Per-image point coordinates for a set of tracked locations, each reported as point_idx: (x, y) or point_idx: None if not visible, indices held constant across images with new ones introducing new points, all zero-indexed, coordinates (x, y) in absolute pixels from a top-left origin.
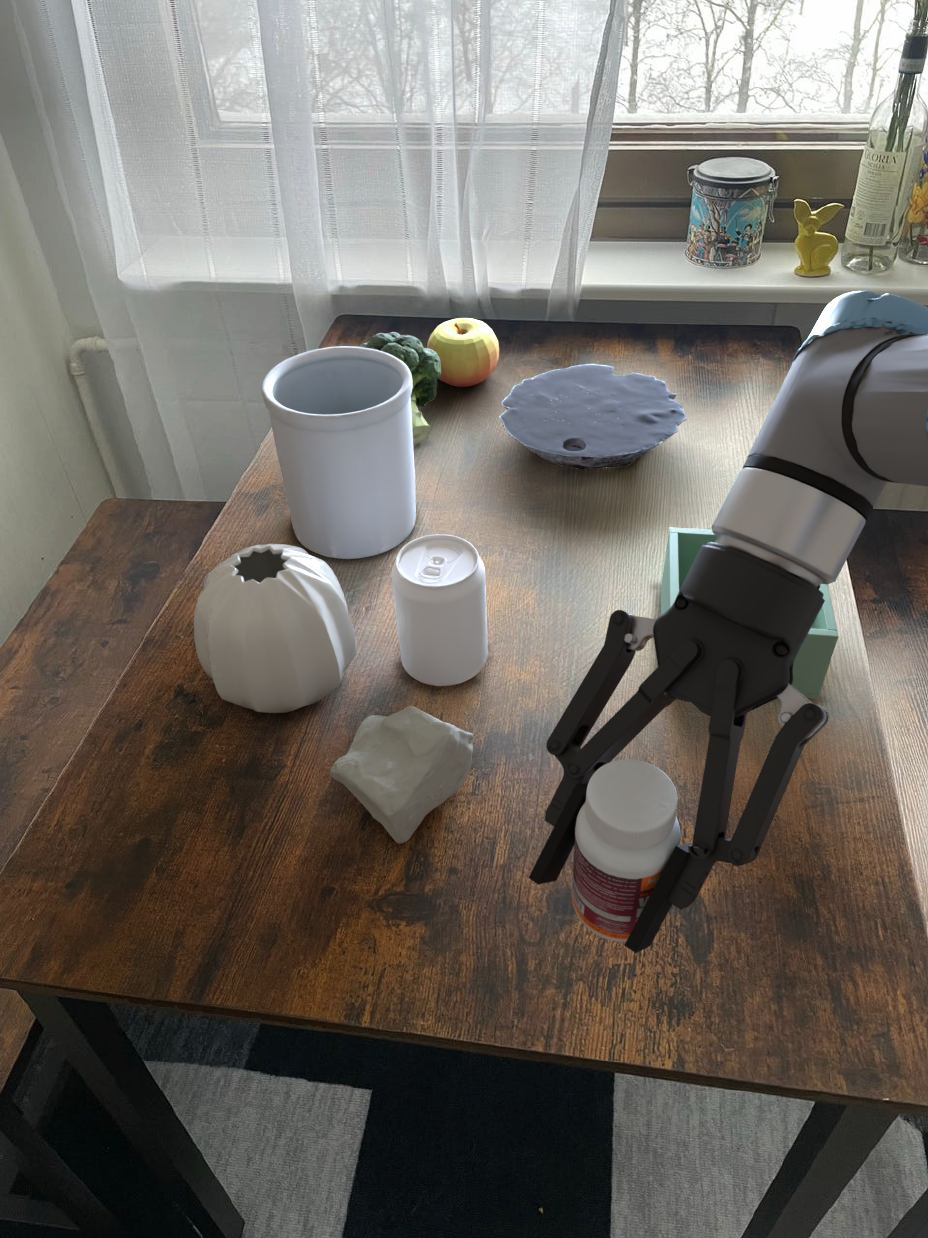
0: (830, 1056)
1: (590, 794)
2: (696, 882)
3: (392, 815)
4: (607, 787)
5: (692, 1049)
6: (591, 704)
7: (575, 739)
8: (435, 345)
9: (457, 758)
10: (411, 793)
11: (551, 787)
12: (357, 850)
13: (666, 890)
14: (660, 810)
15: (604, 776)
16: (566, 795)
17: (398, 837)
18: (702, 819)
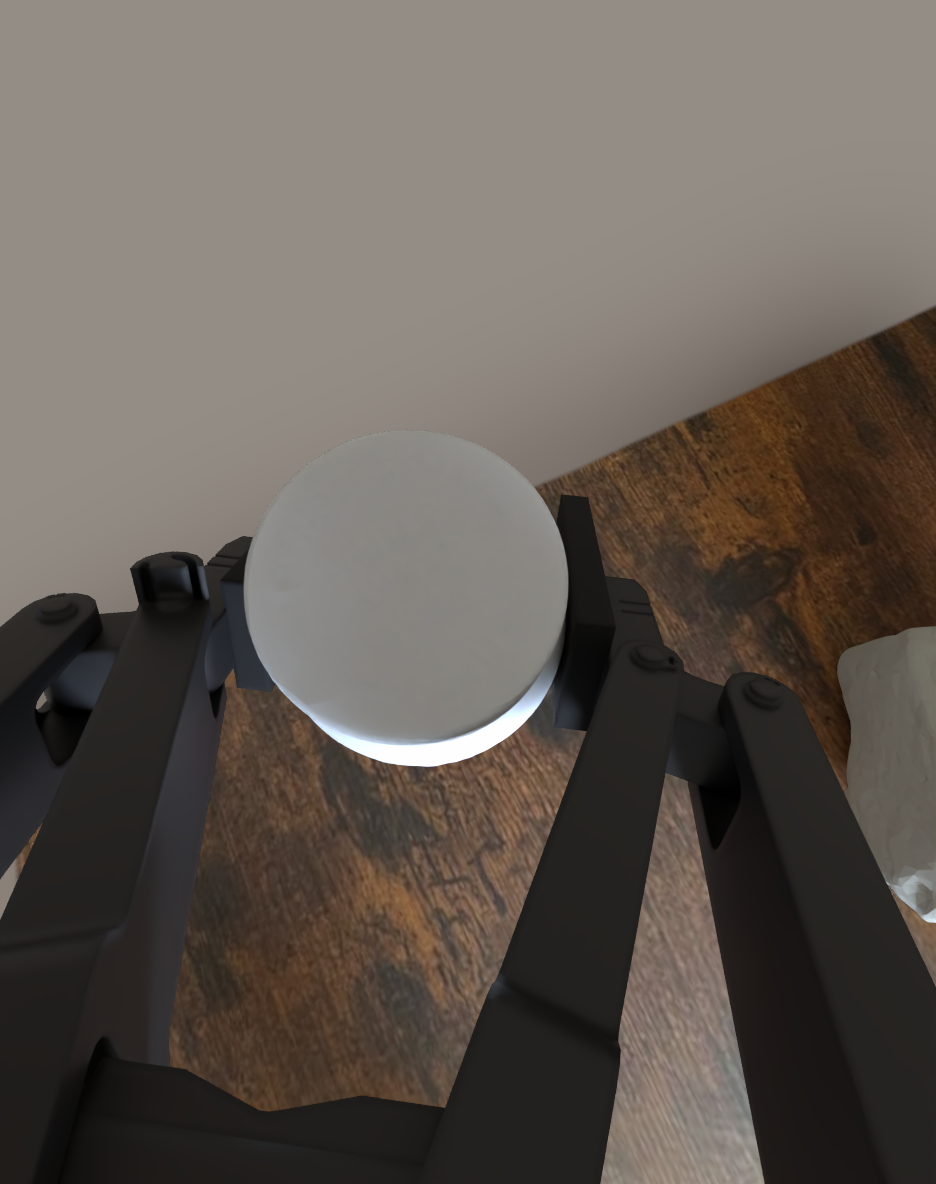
0: None
1: (529, 497)
2: (205, 573)
3: (905, 635)
4: (493, 553)
5: None
6: (778, 872)
7: (723, 799)
8: None
9: (909, 833)
10: (918, 691)
11: (705, 929)
12: (887, 616)
13: None
14: (288, 563)
15: (527, 592)
16: (623, 625)
17: (855, 646)
18: (173, 651)
